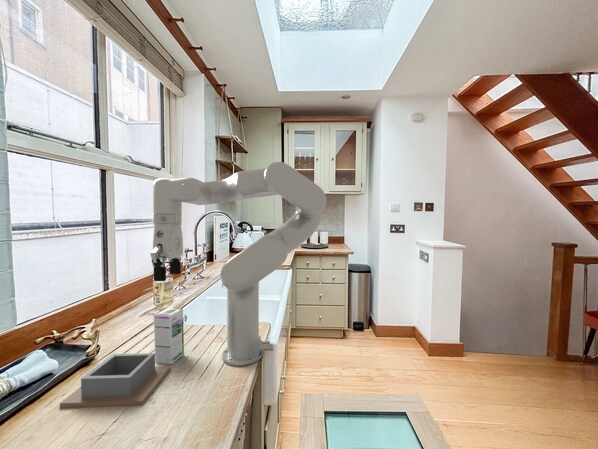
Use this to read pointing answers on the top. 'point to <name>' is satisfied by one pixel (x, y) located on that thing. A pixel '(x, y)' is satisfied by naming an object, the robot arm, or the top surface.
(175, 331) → the syrup box
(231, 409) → the top surface
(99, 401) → the caddy
